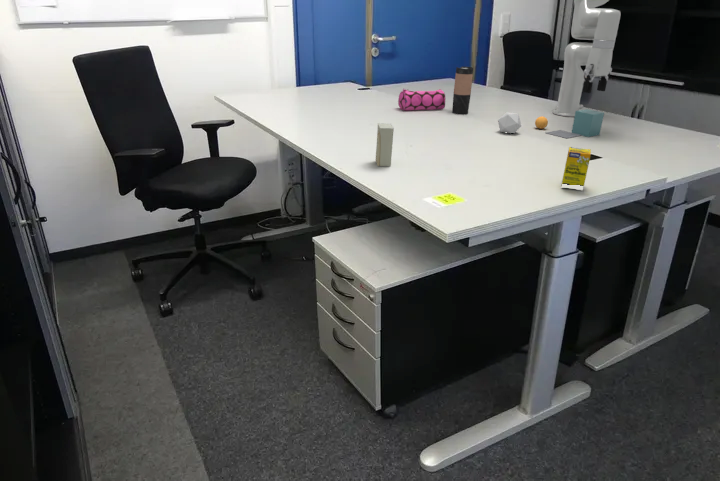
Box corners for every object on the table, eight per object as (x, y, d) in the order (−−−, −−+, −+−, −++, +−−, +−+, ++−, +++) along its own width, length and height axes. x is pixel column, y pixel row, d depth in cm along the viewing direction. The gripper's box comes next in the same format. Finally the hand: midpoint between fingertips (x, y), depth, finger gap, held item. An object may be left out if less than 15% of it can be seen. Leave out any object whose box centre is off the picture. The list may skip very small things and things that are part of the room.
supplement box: (560, 188, 155) (568, 151, 150) (561, 182, 160) (568, 146, 156) (583, 191, 153) (591, 154, 149) (583, 185, 158) (591, 148, 154)
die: (523, 134, 217) (516, 112, 218) (523, 128, 209) (516, 105, 210) (502, 140, 219) (496, 118, 220) (502, 134, 210) (495, 111, 212)
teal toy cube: (582, 130, 224) (586, 109, 220) (599, 134, 218) (604, 112, 214) (571, 132, 219) (575, 111, 216) (588, 137, 214) (593, 114, 210)
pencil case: (404, 113, 246) (406, 90, 241) (396, 108, 254) (397, 86, 250) (447, 111, 252) (449, 89, 248) (437, 107, 260) (439, 85, 256)
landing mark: (560, 130, 223) (560, 129, 223) (581, 135, 216) (581, 135, 216) (545, 133, 217) (545, 132, 217) (566, 138, 210) (566, 138, 210)
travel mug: (468, 115, 245) (473, 69, 236) (451, 113, 246) (455, 68, 238) (468, 111, 252) (473, 66, 243) (452, 110, 253) (456, 66, 245)
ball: (539, 126, 228) (541, 114, 226) (549, 129, 224) (551, 117, 222) (531, 128, 225) (533, 116, 223) (541, 130, 221) (543, 118, 219)
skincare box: (375, 160, 174) (377, 123, 169) (389, 160, 175) (391, 123, 170) (377, 166, 169) (379, 127, 164) (391, 166, 169) (393, 127, 164)
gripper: (606, 43, 212) (597, 88, 219) (581, 44, 203) (572, 91, 210) (625, 45, 207) (614, 91, 214) (599, 46, 197) (589, 94, 204)
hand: (593, 91), depth 212 cm, fingers open, 9 cm apart
